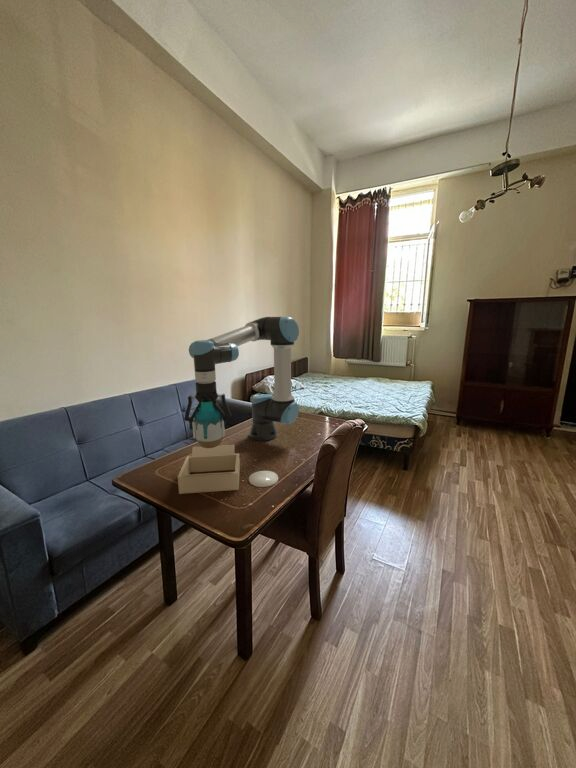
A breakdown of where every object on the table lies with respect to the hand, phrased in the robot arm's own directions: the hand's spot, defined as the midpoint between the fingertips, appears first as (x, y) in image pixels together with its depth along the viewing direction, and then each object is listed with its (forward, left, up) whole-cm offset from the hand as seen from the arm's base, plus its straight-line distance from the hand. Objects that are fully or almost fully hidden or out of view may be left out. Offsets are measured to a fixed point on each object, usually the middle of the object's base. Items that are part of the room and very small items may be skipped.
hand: (209, 436), depth 123 cm
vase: (0, 0, -5) cm, 5 cm away
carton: (0, 0, -19) cm, 19 cm away
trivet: (+2, +21, -19) cm, 28 cm away
